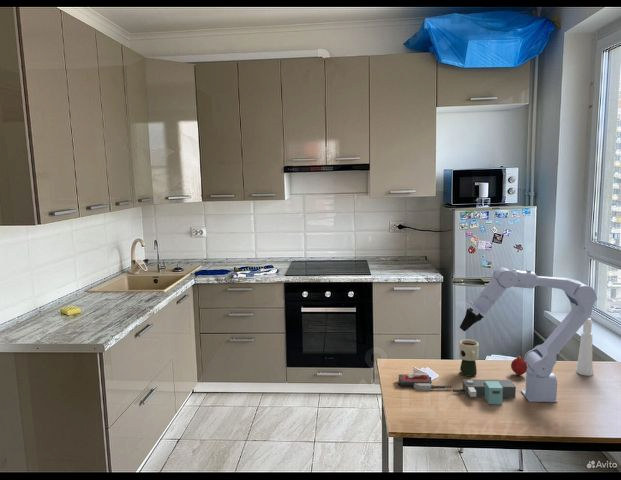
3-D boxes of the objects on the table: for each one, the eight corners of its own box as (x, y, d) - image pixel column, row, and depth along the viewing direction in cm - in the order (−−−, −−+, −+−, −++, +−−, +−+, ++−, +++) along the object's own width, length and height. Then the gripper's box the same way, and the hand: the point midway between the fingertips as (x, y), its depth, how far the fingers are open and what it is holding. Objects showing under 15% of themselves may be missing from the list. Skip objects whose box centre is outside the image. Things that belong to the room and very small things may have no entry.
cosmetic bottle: (573, 368, 185) (576, 315, 182) (589, 369, 184) (593, 316, 180) (578, 375, 179) (582, 320, 176) (596, 376, 178) (599, 321, 174)
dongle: (472, 390, 165) (472, 385, 165) (476, 396, 161) (476, 391, 161) (467, 390, 165) (467, 385, 165) (470, 396, 161) (470, 391, 161)
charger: (495, 394, 166) (496, 378, 165) (502, 404, 159) (503, 388, 158) (482, 394, 166) (483, 378, 165) (488, 404, 159) (489, 388, 158)
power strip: (509, 390, 169) (510, 378, 168) (515, 397, 164) (515, 385, 163) (451, 389, 171) (451, 377, 170) (454, 396, 165) (455, 384, 164)
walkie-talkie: (397, 391, 171) (453, 392, 169) (397, 380, 170) (453, 380, 169) (395, 380, 180) (447, 381, 178) (395, 370, 179) (448, 370, 177)
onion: (512, 371, 184) (513, 351, 183) (528, 374, 181) (529, 355, 180) (509, 376, 180) (509, 356, 179) (525, 380, 176) (526, 360, 175)
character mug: (454, 368, 188) (455, 337, 186) (472, 367, 188) (473, 337, 186) (463, 380, 178) (464, 348, 176) (482, 379, 178) (483, 347, 176)
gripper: (479, 290, 168) (456, 319, 170) (476, 291, 155) (451, 322, 157) (496, 302, 165) (472, 332, 168) (494, 304, 152) (468, 336, 155)
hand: (463, 328), depth 162 cm, fingers open, 7 cm apart
